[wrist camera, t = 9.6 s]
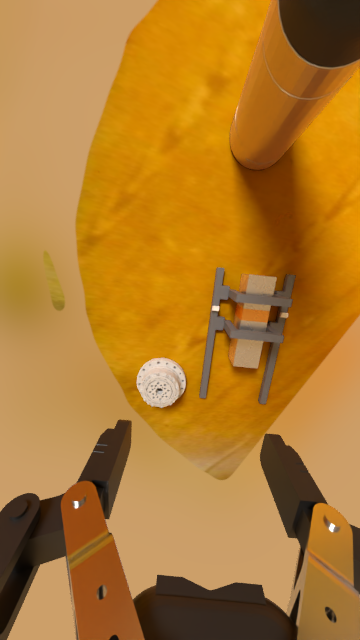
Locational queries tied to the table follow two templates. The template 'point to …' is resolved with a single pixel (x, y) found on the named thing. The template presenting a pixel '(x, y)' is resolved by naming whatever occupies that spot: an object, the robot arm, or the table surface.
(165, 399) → the mechanical component
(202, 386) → the collar frame
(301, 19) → the robot arm
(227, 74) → the table surface
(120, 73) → the table surface
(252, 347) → the bar
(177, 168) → the table surface
